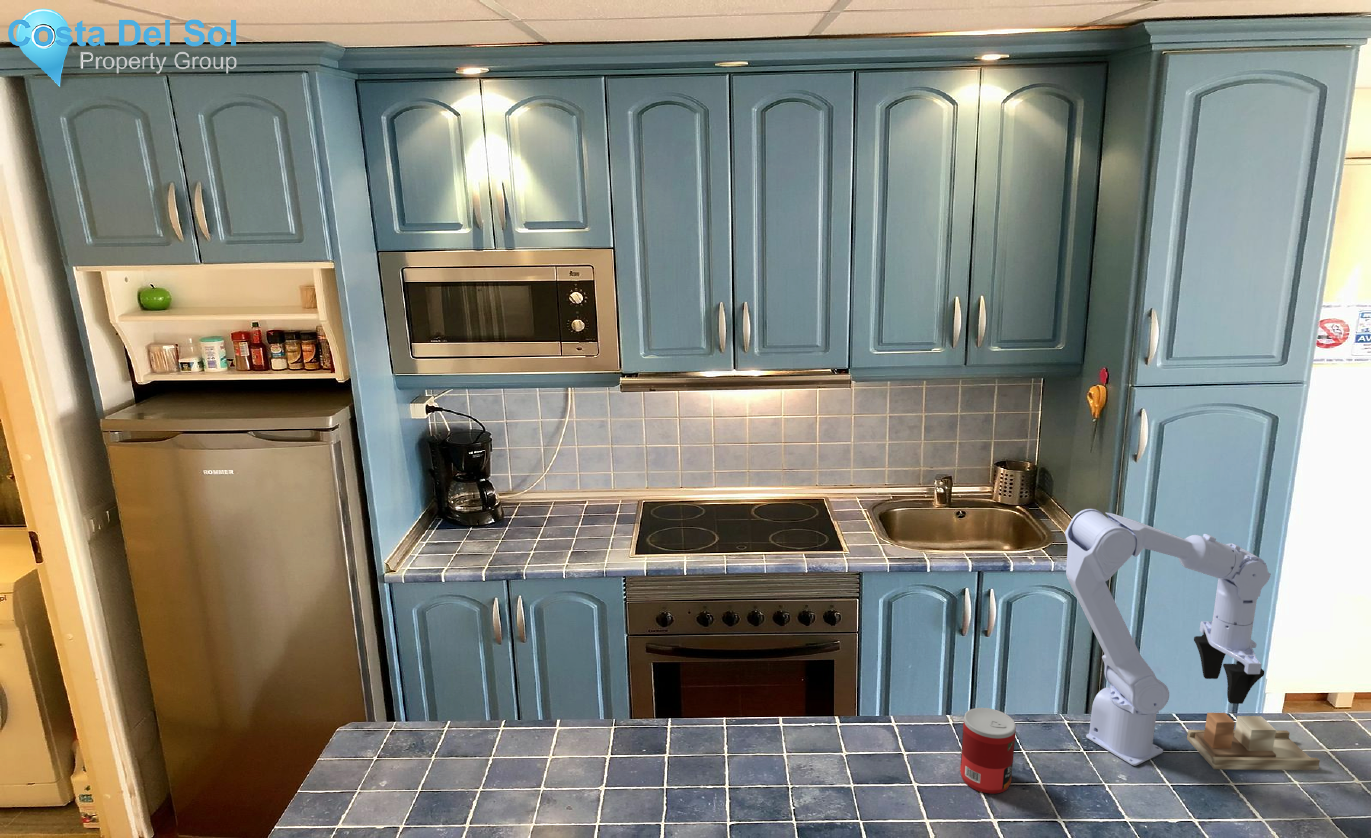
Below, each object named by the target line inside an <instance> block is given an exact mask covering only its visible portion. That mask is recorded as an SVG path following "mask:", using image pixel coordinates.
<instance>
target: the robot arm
mask: <svg viewBox="0 0 1371 838" xmlns="http://www.w3.org/2000/svg"><path fill="white" fill-rule="evenodd" d="M1105 514H1106V515H1104V514H1103V512H1101V511H1100V510H1098V509H1095V508H1085V509H1082V510H1080V511H1079V512H1077V513H1076V514H1075V515H1074V516H1073V517H1072V519H1071V520H1070V522H1069V524H1068V526H1067V528H1066V529H1065V531H1064V536H1065V539H1066V543H1067V551H1066V552H1067V555H1066V567H1065V569H1066V570H1065V575H1066V578H1067V581H1068V583H1069V585H1070V587H1071V589H1072V591H1073V593H1074V595H1075V597H1076V599H1077V601H1078V603H1079V605H1080V606H1081V609H1082V611H1083V613H1084V615H1085V617H1086V619H1087V621H1088V623H1089V625H1090V627H1091V629H1092V631H1093V633H1094V635H1095V637H1096V639H1097V641H1098V643H1099V646H1100V647H1101V650H1102V651H1103V653H1104V654H1103V655H1102V656H1101V659H1102V662H1103V663H1104V678H1105V680H1106V682H1108V683H1109V684H1110V685H1109V687H1104V688H1102V689H1101V690H1100V691H1098V693H1097V694H1096V695H1095V697H1094V700H1093V702H1092V706H1091V713H1090V714H1091V715H1090V722H1089V723H1090V724H1089V733H1087V734H1086V735H1085V737H1086V739H1088V740H1090V741H1091V742H1093V743H1095V744H1096V745H1099V747H1101V748H1103V749H1105V750H1106V751H1108V752H1110V753H1112V755H1115V756H1116V757H1118V758H1120V759H1121V760H1122V761H1125V762H1126V763H1128V764H1129V765H1131V766H1133V767H1134V766H1135V767H1136V766H1138V765H1140V764H1143V763H1144V762H1146V761H1148V760H1150V759H1152V758H1155V757H1157V756H1160V755H1161V754H1163V753H1164V749H1163V748H1161V747H1160V746H1158V745H1156V744H1155V743H1154V735H1155V729H1156V728H1155V727H1156V720H1157V714H1159V712H1160V711H1161V710H1163V709H1164V708H1165V706H1167V704H1168V702H1169V699H1170V690H1169V687H1168V686H1167V684H1165V683H1164V682H1163V681H1162V680H1160V679H1158V678H1157V676H1156V674H1155V672H1154V671H1153V670H1152V668H1151V667H1150V665H1149V664H1148V663H1147V661H1145V659H1144V658H1143V657H1142V655H1141V654H1140V651H1139V649H1138V648H1137V645H1136V643H1135V641H1134V639H1133V637H1132V635H1131V632H1130V630H1129V628H1128V626H1127V624H1126V622H1125V620H1124V618H1123V616H1122V614H1121V612H1120V610H1119V607H1118V606H1117V604H1116V601H1115V599H1114V597H1113V594H1112V593H1111V591H1110V589H1109V586H1108V585H1107V583H1106V582H1107V581H1109V580H1110V579H1111V577H1113V576H1114V575H1115V574H1116V573H1117V571H1119V570H1120V569H1121V568H1122V566H1124V565H1125V563H1127V562H1128V560H1130V558H1131V557H1132V556H1133V557H1136V558H1137V557H1138V556H1139V555H1140V553H1142V551H1143V550H1144V549H1145V550H1149V551H1153V552H1156V553H1159V554H1163V555H1164V554H1165V555H1167V556H1171V557H1174V558H1178V561H1179V563H1180V565H1182V566H1183V567H1184V568H1185V569H1187V570H1191V571H1194V572H1198V573H1201V574H1204V575H1206V576H1210V577H1213V578H1216V579H1218V580H1217V585H1216V586H1217V587H1216V591H1215V592H1216V593H1215V600H1214V605H1213V606H1214V607H1213V613H1212V621H1211V620H1209V621H1208V620H1206V621H1205V620H1201V621H1200V624H1199V625H1200V626H1199V632H1200V633H1202V635H1195V636H1194V637H1193V642H1194V643H1195V646H1196V647H1197V650H1198V654H1199V659H1200V662H1201V670H1202V675H1203V678H1204V679H1206V680H1217V679H1218V678H1219V676H1220V674H1221V670H1222V667H1223V669H1224V671H1225V675H1226V679H1227V692H1226V693H1227V696H1226V697H1227V701H1228V702H1229V704H1234V705H1235V704H1239V705H1240V704H1244V702H1245V700H1246V698H1247V696H1248V693H1249V692H1250V690H1251V688H1253V686H1254V685H1255V684H1256V683H1257V682H1258V681H1259V680H1260V679H1261V678H1262V677H1264V676H1265V670H1264V669H1262V663H1261V662H1260V660H1259V659H1258V657H1257V655H1256V653H1255V652H1254V649H1256V648H1257V642H1255V641H1254V639H1253V640H1252V635H1253V628H1254V620H1255V616H1256V614H1255V612H1256V608H1257V601H1258V599H1259V597H1261V591H1262V589H1263V588H1264V587H1265V586H1266V585H1267V583H1268V582H1269V580H1270V577H1271V572H1269V571H1268V566H1267V563H1266V562H1265V560H1263V559H1262V558H1261V557H1260V556H1257V555H1255V554H1254V553H1251V552H1250V551H1248V550H1247V549H1244V548H1242V547H1240V546H1239V545H1237V544H1235V543H1223V542H1220V541H1217V538H1216V537H1215V536H1213V535H1211V534H1207V533H1203V534H1202V535H1199V534H1192V535H1188V536H1187V537H1185V538H1182V537H1180V536H1177V535H1174V534H1173V533H1169V532H1167V531H1164V530H1162V529H1159V528H1157V527H1156V528H1155V527H1153V526H1150V525H1148V524H1146V523H1145V524H1144V523H1143V522H1139V521H1138V520H1134V519H1131V518H1128V517H1124V516H1122V515H1118V514H1115V513H1111V512H1105ZM1225 656H1228V657H1230V658H1232V659H1233V660H1235V662H1236V663H1223V662H1224V659H1225Z"/></svg>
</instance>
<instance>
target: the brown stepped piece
mask: <svg viewBox="0 0 1371 838" xmlns="http://www.w3.org/2000/svg"><path fill="white" fill-rule="evenodd" d="M1235 727H1236V722H1235V721H1234V720H1233V719H1232V718H1231V716H1229V715H1228V714H1227V713H1226V712H1207V713H1206V720H1205V727H1204V730H1205V732H1204V733H1195V739H1196V740H1197V741H1198V742H1199V743H1200V744H1201V745H1202V746H1203V748H1204V749H1205V750H1206V751H1207V752H1208V753H1209V754H1210V755H1211V756H1212V757H1276V754H1275V753H1274V752H1273V751H1248V750H1247V749H1246V748H1245V747H1244V746H1243V745H1242V744H1241V743H1240V742H1239V741H1238V740H1237V739H1236V738H1235V737H1234V734H1235V733H1233V732H1234V730H1235Z"/></svg>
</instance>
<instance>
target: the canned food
mask: <svg viewBox="0 0 1371 838" xmlns="http://www.w3.org/2000/svg"><path fill="white" fill-rule="evenodd" d="M1016 727H1017V726H1016V722H1015V720H1014V718H1012V717H1011V716H1009V715H1008V714H1006V713H1005V712H1003V711H1000V710H997V709H995V708H994V709H993V708H989V707H976V708H975V707H974V708H970V709H969V710H968V711H966V712H965V713H964V717H963V724H962V739H961V753H960V754H961V755H960V767H959V772H960V776H961V779H962V780H963V782H964V783H965V784H966V785H967V786H969V787H970V788H971V789H973V790H976V791H977V792H981V793H984V794H989V795H990V794H992V795H993V794H994V795H995V794H1001V793H1004V792H1006V791H1008V789H1009V787H1010V785H1011V783H1012V777H1013V766H1014V765H1013V763H1014V756H1015V754H1014V753H1015V745H1016V732H1017V728H1016Z"/></svg>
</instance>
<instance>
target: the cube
mask: <svg viewBox="0 0 1371 838" xmlns="http://www.w3.org/2000/svg"><path fill="white" fill-rule="evenodd" d="M1234 730H1235V734H1234V737H1235V738H1236V739H1237V740H1238V741H1239V742H1240V743H1241V744H1242V745H1243V746H1244V747H1245V748H1246V749H1247V750H1248V751H1273V745H1274V740H1275V734H1276V730H1277V729H1276V728H1275V727H1273V725H1272V724H1270V722H1268V721H1267V720H1266V719H1265V718H1264V717H1262V716H1261V715H1237V717H1236V722H1235V727H1234Z"/></svg>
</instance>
